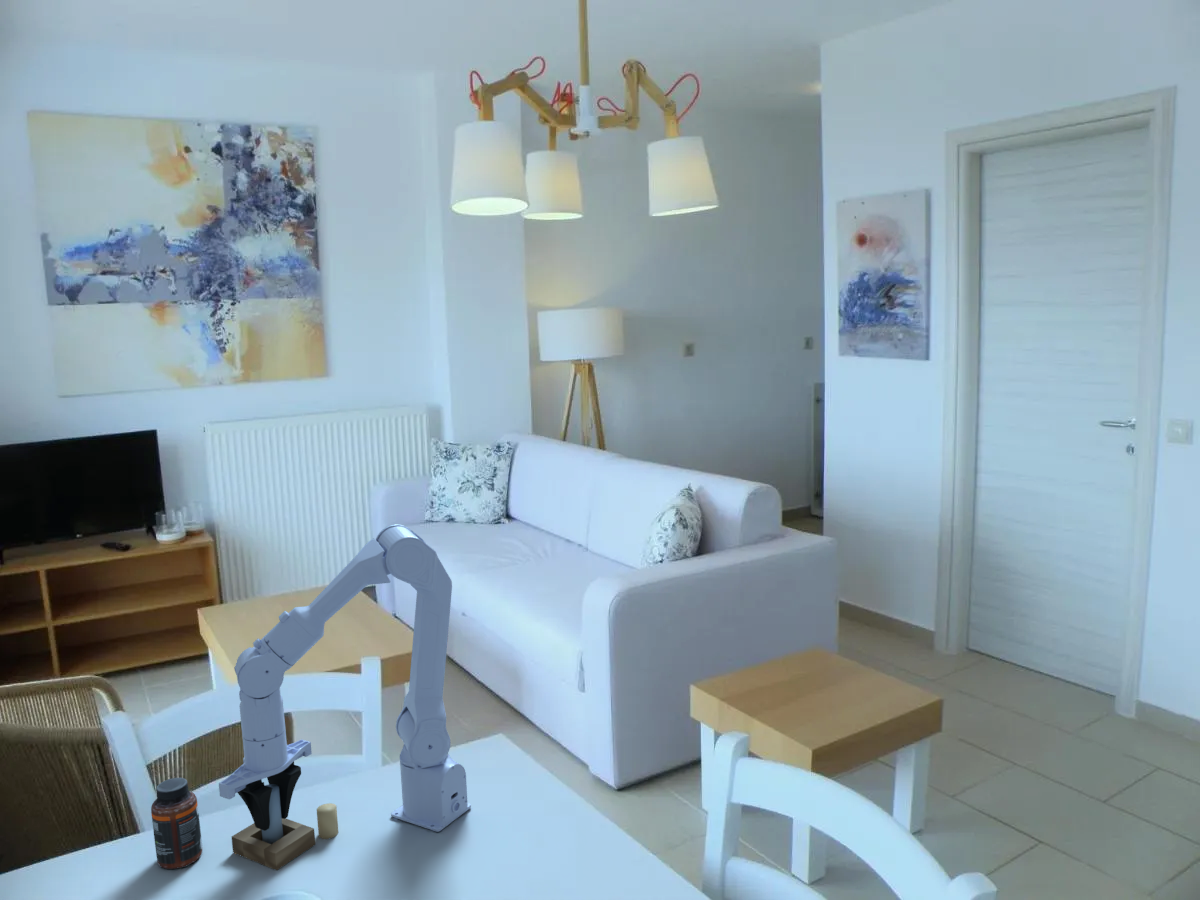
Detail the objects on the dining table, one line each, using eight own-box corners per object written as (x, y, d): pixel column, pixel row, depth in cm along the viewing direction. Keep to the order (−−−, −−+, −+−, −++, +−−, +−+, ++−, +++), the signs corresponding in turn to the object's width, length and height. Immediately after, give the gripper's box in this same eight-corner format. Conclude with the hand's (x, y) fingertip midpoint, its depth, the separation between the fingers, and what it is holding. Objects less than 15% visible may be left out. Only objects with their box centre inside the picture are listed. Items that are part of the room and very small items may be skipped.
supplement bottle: (211, 847, 136) (203, 773, 134) (189, 872, 130) (181, 795, 128) (171, 846, 136) (163, 773, 134) (148, 870, 130) (139, 794, 129)
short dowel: (342, 831, 139) (340, 806, 138) (328, 840, 136) (326, 815, 136) (328, 826, 140) (326, 801, 140) (314, 835, 138) (312, 810, 137)
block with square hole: (315, 844, 135) (314, 828, 135) (276, 870, 130) (275, 853, 129) (272, 828, 140) (271, 812, 140) (233, 852, 134) (231, 836, 134)
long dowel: (287, 842, 135) (283, 787, 134) (272, 852, 133) (267, 796, 131) (274, 837, 137) (269, 782, 135) (258, 846, 134) (253, 791, 133)
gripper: (285, 707, 140) (292, 791, 142) (200, 747, 128) (209, 840, 130) (318, 716, 137) (325, 803, 139) (235, 759, 124) (244, 853, 126)
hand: (272, 822), depth 134 cm, fingers closed on long dowel, 3 cm apart
